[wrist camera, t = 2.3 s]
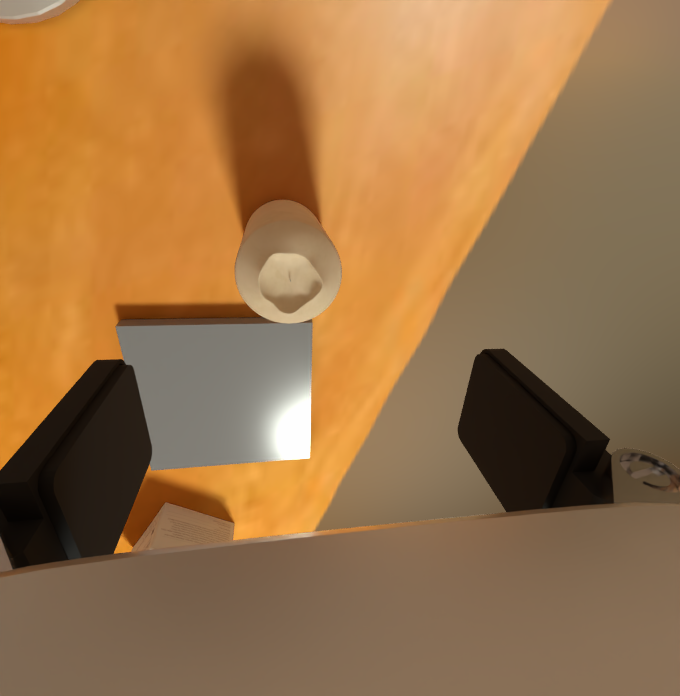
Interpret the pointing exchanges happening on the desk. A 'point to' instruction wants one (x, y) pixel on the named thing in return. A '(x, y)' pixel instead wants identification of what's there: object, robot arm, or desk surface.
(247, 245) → the candle
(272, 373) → the slate coaster
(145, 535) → the small box
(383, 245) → the desk surface
